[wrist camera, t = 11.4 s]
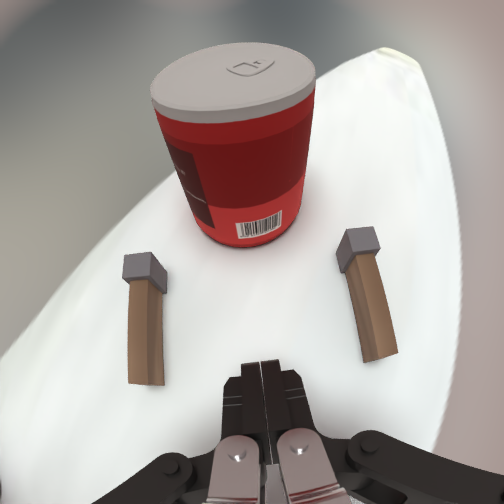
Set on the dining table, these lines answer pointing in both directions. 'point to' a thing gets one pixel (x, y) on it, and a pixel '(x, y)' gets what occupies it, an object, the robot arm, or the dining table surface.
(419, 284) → the dining table surface
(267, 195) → the canned food
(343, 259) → the posts
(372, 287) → the channel walls
